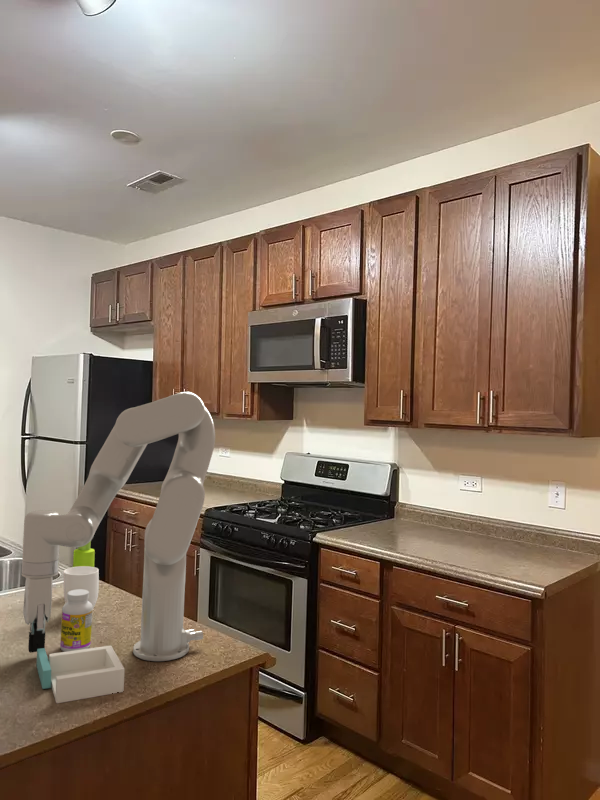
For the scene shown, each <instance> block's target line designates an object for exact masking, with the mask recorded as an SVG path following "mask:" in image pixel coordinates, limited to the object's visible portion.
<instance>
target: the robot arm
mask: <svg viewBox="0 0 600 800" xmlns="http://www.w3.org/2000/svg"><path fill="white" fill-rule="evenodd" d="M175 435H178V440H177V443H176V447H175V450H174V453H173V456H172V460H171V463H170V465H169V467H168V468H169V469H168V471H167V473H166V475H165V478H164V480H163V482H162V484H161V487H160V488H161V489H160V495H159V497H158V501H157V504H156V507H155V510H154V513H153V515H152V518H151V519H150V520H149V522H148V523H147V525H146V527H145V529H144V530H145V531H144V553H143V554H144V555H143V556H144V557H143V558H144V559H143V575H142V576H143V577H142V579H143V580H142V598H141V619H140V621H141V622H140V623H141V624H140V640H139V641H137V642H136V643H134V645H133V647H132V650H133V651H132V653H133V655H134V656H135V657H137V658H139V659H141V660H143V661H147V662H150V661H151V662H165V661H167V662H168V661H172V660H173V661H174V660H176V659H179V658H182V657H184V656H185V655H186V654H188V652H189V651H190V644H189V643H190V642H191V641H200V640H203V639H204V632H203V630H199V631H197V630H196V631H195V629H194V628H192V629H185V628H184V613H185V593H186V591H185V588H186V573H187V570H186V569H187V567H186V566H187V552H188V550H189V548H190V545H191V542H192V539H193V537H194V534H195V531H196V528H197V524H198V522H199V519H200V516H201V513H202V510H203V508H204V507H203V506H204V502H205V498H206V492H205V486H204V484H205V483H204V482H205V479H206V476H207V474H208V471H209V467H210V463H211V460H212V455H213V452H214V449H215V445H216V444H215V443H216V429H215V423H214V420H213V418H212V416H211V413H210V412H209V410H208V409H207V407H206V406H205V403H204V401H203V400H202V399H201V397H200V396H198V395H197V394H196V393H194V392H192V391H180V392H177V393H175V394H171V395H169V396H167V397H163V398H160V399H157V400H154V401H152V402H148V403H145V404H141V405H137V406H135V407H130V408H126V409H125V410H123V411H121V413H120V414H119V415H118V417H117V418H116V421H115V424H114V425H113V428H111V431H110V433H109V434H108V436H107V438H106V439H105V441H104V444H103V445H102V447H101V448H100V450H99V452H98V453H97V455H96V456H95V458H94V461H93V462H92V464H91V466H90V469H89V473H88V476H87V479H86V481H85V483H84V485H83V487H82V489H81V491H80V492H79V494H78V496H77V498H76V499H75V501H74V502H73V504H72V506H71V508H70V509H69V511H68V513H67V514H60V513H59V512H58V511H55V510H45V509H44V510H43V509H42V510H41V509H40V510H32V511H29V512H28V513H26V514H25V517H24V521H23V539H22V540H23V541H22V542H23V543H22V559H21V576H22V577H24V578H25V583H24V595H23V596H24V597H23V608H22V614H23V619H24V621H25V624H26V625H27V626H29V632H28V646H27V647H28V653H37V649H41V648H45V646H46V632H45V631H46V623H49V622H50V621H51V615H52V602H53V581H54V580H53V577H55V576H57V575H58V574H59V563H60V547H66V548H67V547H68V548H78V547H82V546H84V545H86V544H88V543H89V542H90V541H91V542H92V540H93V539H94V537H95V536H94V535H95V533H96V531H98V530H97V529H98V528H99V525H100V523H101V522H102V520H103V518H104V517H105V514H106V512H107V511H108V509H109V507H110V506H111V505H112V504H111V503H112V502H113V500H114V499H115V497H116V496H117V494H118V493H119V492H120V490H121V489H122V488H123V487H124V485H126V484H127V483H126V482H127V481H128V480H129V478H130V476H131V474H132V472H133V470H134V469H135V467H136V465H137V463H138V461H139V460H140V458H141V457H142V455H143V453H144V451H145V450H146V448H147V446H148V444H151V443H155V442H158V441H161V440H164V439H167V438H170V437H173V436H175ZM45 649H46V648H45Z"/></svg>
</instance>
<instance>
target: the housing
mask: <svg viewBox="0 0 600 800" xmlns="http://www.w3.org/2000/svg"><path fill="white" fill-rule="evenodd" d="M48 660H49V664H50V667H51V690H52V693H53V696H54V700H55V703H56V704H60V703H66V702H72V701H77V700H84V699H90V698H95V697H101V696H106V695H113V694H118V693H117V692H119V693H124V692H123V691H124V689H125V667H124V665H123V663H122V661H121V660H120V658H119V655H117V653H116V652H115V650H114V648H113V646H112V645H111V644H110V645H104V646H99V647H98V646H96V647H89V648H88V649H81V650H74V651H67V652H65V651H62V652H54V653H49V656H48ZM112 693H113V694H112Z"/></svg>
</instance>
